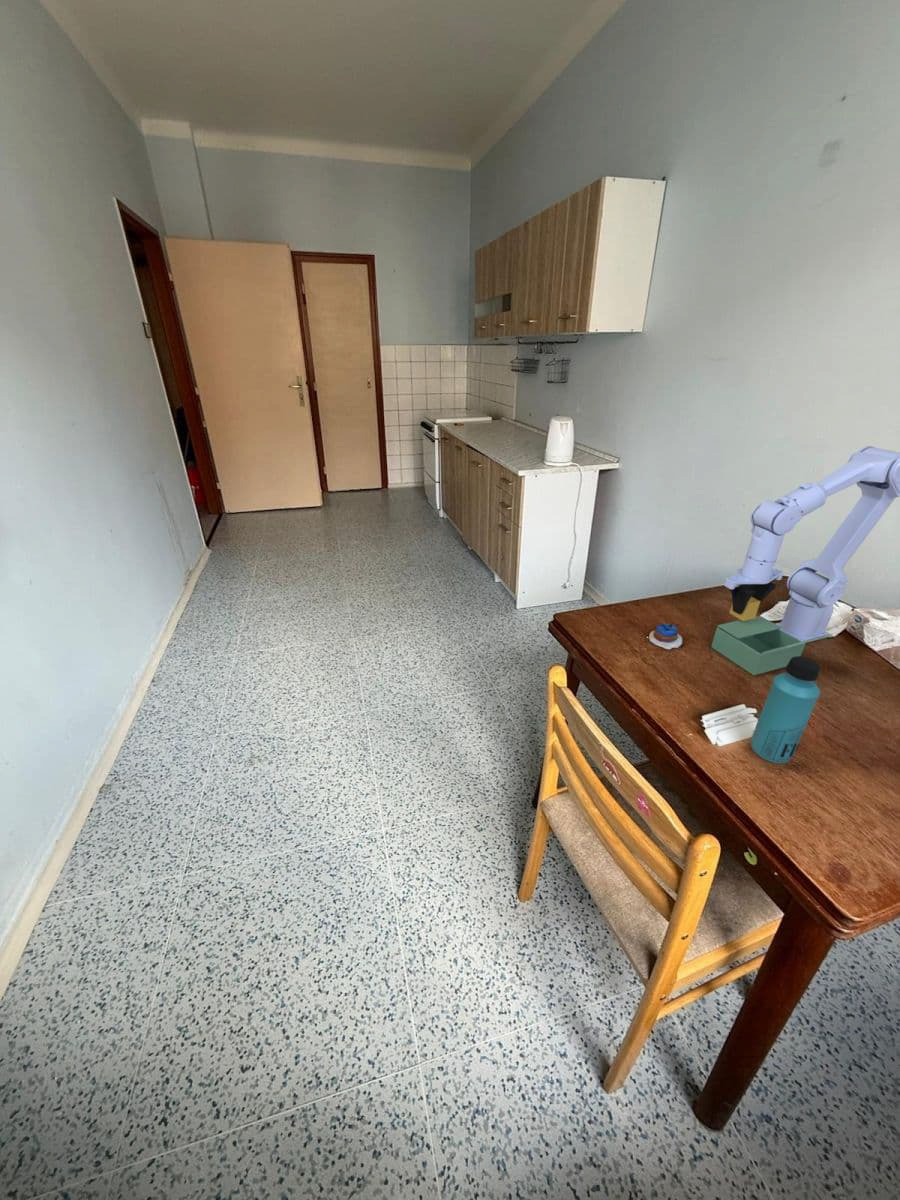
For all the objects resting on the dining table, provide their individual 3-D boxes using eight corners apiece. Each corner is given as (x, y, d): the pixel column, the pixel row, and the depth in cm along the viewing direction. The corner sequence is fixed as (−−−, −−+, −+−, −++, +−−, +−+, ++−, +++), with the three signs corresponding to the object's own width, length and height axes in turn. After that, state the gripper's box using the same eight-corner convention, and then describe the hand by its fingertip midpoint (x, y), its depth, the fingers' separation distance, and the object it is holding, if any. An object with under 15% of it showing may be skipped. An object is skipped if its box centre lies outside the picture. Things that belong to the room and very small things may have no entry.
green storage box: (752, 636, 115) (759, 615, 112) (797, 663, 106) (806, 640, 103) (711, 646, 112) (717, 625, 109) (753, 675, 102) (762, 652, 99)
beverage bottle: (775, 776, 78) (817, 680, 69) (737, 750, 83) (772, 657, 74) (798, 762, 81) (842, 667, 71) (760, 737, 86) (796, 646, 77)
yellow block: (740, 610, 113) (746, 593, 111) (754, 618, 110) (760, 601, 107) (729, 613, 112) (734, 596, 110) (743, 621, 109) (748, 603, 106)
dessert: (657, 624, 120) (673, 614, 115) (675, 645, 118) (692, 635, 113) (640, 638, 115) (657, 627, 110) (659, 660, 114) (676, 650, 109)
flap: (831, 634, 97) (832, 635, 97) (806, 640, 103) (807, 642, 103) (785, 646, 94) (786, 647, 94) (762, 652, 99) (762, 653, 99)
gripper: (770, 546, 109) (753, 598, 115) (720, 555, 105) (705, 608, 111) (798, 557, 103) (779, 611, 109) (747, 567, 99) (730, 622, 106)
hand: (743, 610), depth 110 cm, fingers closed on yellow block, 3 cm apart
